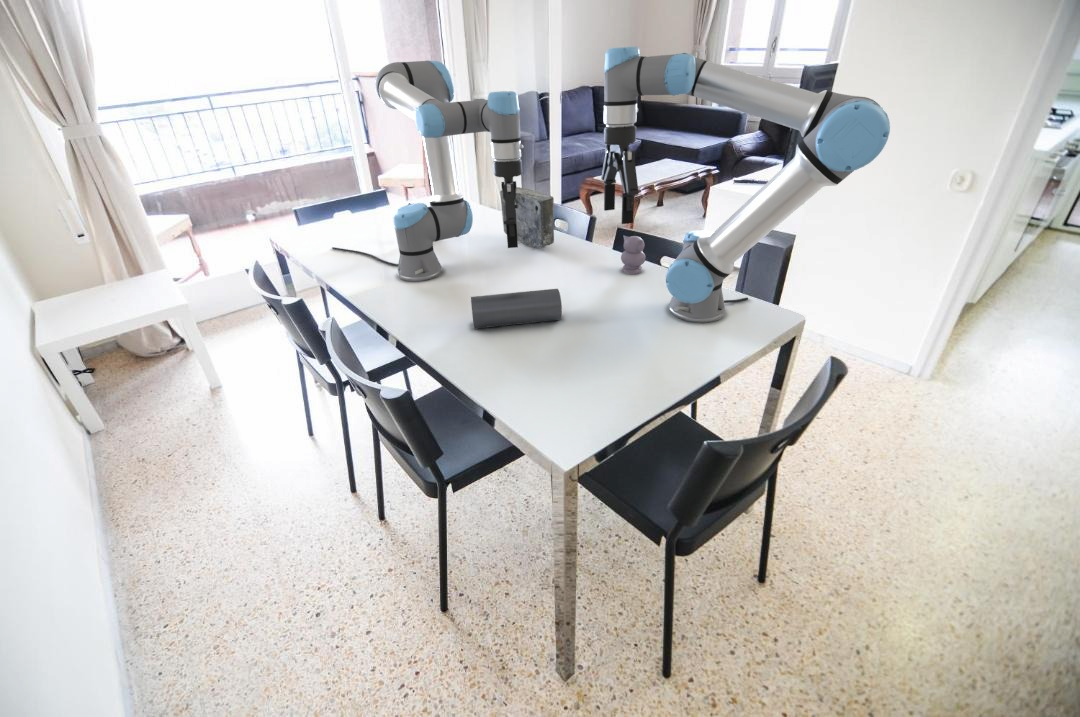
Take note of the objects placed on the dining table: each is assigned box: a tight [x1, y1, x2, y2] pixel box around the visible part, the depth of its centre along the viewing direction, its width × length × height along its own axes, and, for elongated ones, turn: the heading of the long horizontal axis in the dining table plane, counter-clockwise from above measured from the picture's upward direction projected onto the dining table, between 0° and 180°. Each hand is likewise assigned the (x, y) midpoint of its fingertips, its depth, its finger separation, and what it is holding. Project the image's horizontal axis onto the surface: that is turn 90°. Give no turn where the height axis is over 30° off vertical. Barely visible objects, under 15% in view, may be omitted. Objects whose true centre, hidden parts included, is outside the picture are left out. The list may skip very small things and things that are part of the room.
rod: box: [470, 288, 563, 330], centre depth 139 cm, size 24×9×9 cm, turn 99°
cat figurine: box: [620, 234, 646, 275], centre depth 168 cm, size 9×8×12 cm
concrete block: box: [499, 186, 555, 249], centre depth 194 cm, size 27×9×20 cm, turn 36°
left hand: (512, 239), depth 139 cm, fingers open, 13 cm apart
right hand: (617, 216), depth 127 cm, fingers open, 13 cm apart
